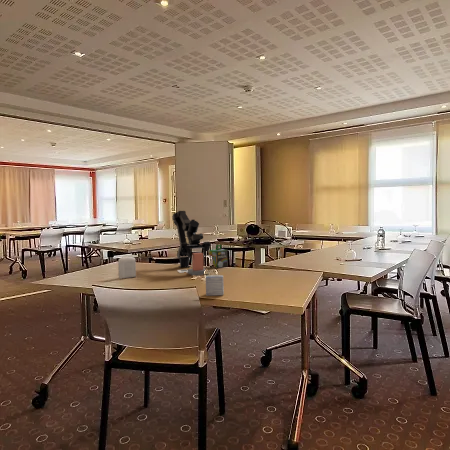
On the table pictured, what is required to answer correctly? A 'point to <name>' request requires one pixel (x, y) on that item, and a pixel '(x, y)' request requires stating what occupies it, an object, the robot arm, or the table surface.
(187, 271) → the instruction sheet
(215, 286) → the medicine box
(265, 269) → the table surface
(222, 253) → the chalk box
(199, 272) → the base brick
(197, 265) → the red block
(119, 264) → the photo printer
